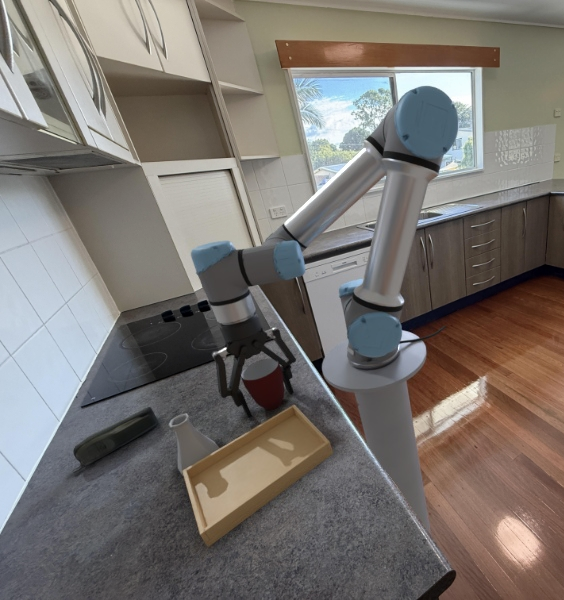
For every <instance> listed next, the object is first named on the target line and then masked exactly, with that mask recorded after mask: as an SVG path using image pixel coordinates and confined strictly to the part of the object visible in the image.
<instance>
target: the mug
mask: <svg viewBox="0 0 564 600" xmlns="http://www.w3.org/2000/svg"><path fill="white" fill-rule="evenodd" d="M277 362H278V361H277ZM277 362H276V361H275V360H273V359H272V358H263V359H259V360H256V361H255V362H252V363H251V364H249V365H248V366H246V367H245V368H244V369H242V374H241V380H242V384H243V386H244V388H245V389H246V391H247V392H248V394H249V395H250V397H251V398H252V400H253V401H254V402H255V403H256V404H257V405H258V406H259V407H261V408H262V409H264V410H266V411H272V410H275V409H277V408H279V407H280V406H281V405H282V403H283V400H284V396H285V384H284V381H283V374H282V370H281V365H280V364H279V362H278V363H277Z"/></svg>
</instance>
